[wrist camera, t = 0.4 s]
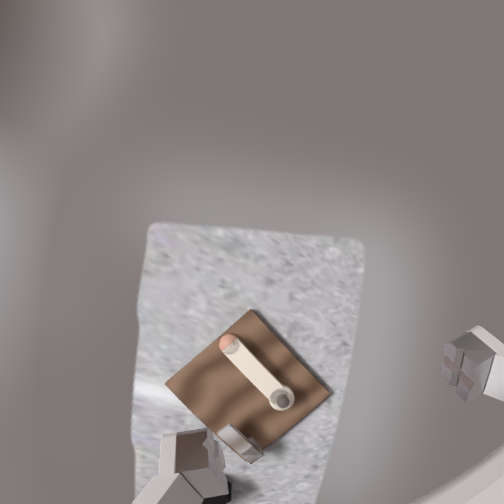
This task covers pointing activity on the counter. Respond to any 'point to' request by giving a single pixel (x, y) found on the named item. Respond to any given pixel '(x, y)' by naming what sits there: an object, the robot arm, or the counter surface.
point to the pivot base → (246, 390)
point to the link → (255, 370)
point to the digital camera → (219, 497)
